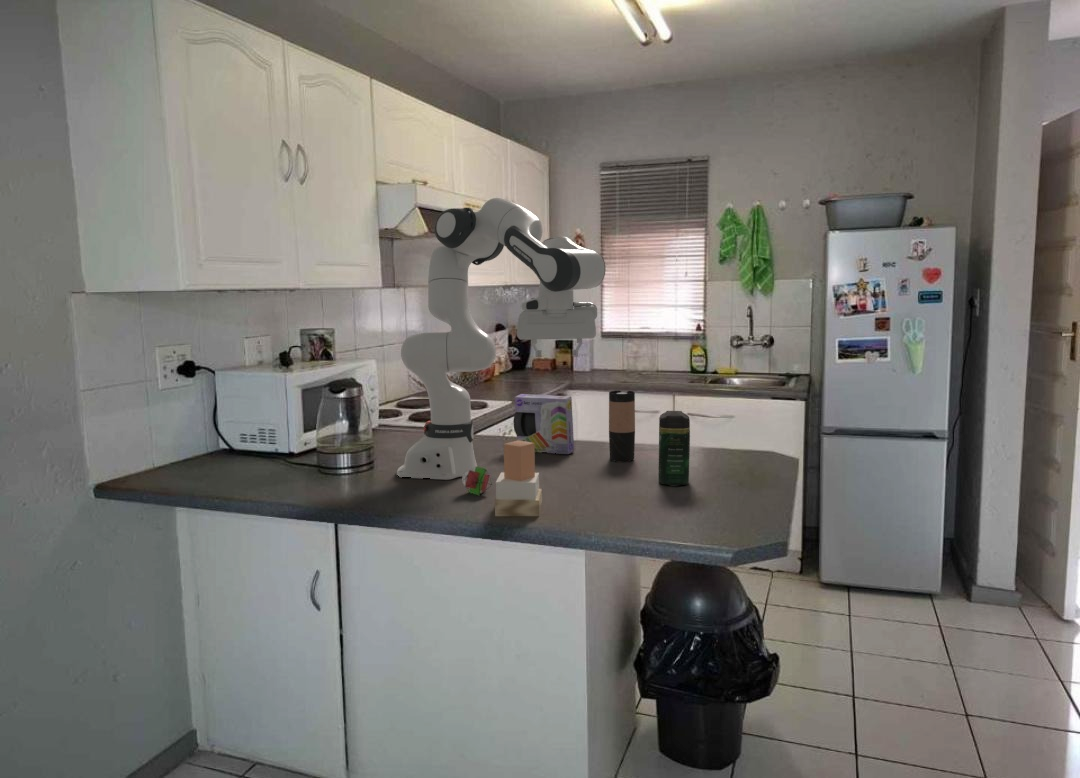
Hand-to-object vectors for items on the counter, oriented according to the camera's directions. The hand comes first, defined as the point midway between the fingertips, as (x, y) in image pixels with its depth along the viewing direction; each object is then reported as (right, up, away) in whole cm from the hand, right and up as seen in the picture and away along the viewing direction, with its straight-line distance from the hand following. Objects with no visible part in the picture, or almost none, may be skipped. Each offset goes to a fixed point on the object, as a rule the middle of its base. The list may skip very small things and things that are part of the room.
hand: (557, 356), depth 195 cm
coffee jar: (+30, -33, +3) cm, 45 cm away
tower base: (-9, -37, -18) cm, 42 cm away
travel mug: (+20, -29, +29) cm, 46 cm away
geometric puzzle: (-20, -35, -4) cm, 40 cm away
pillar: (-9, -29, -19) cm, 36 cm away
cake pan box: (-3, -28, +41) cm, 50 cm away
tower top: (-9, -33, -19) cm, 39 cm away
